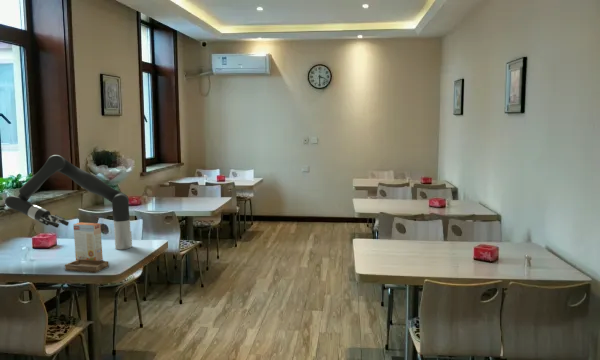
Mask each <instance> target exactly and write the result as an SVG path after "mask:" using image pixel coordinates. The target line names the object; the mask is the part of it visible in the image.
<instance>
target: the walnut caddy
mask: <svg viewBox="0 0 600 360" xmlns="http://www.w3.org/2000/svg"><path fill="white" fill-rule="evenodd" d="M64 268H65V269H64V270H65V271H70V272H81V273H82V272H83V273H92V274H93V273H95V274H96V273H98V272H100V271H103V270H105V269H107V268H109V261H107V260H100V261H96V260H83V259H78V260H76V259H75V260H73V261H71V262H68V263H66V264H64Z"/></svg>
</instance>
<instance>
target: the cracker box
mask: <svg viewBox="0 0 600 360" xmlns="http://www.w3.org/2000/svg"><path fill="white" fill-rule="evenodd" d="M72 226H73V238H74V239H73V240H74V253H75V261H76V260H78V259H83V260H96V261H104V260H103V259H104V258H103V242H102V229H101V226H102V225H101V223H96V222H76V223H73V225H72Z"/></svg>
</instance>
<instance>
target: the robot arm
mask: <svg viewBox="0 0 600 360" xmlns="http://www.w3.org/2000/svg"><path fill="white" fill-rule="evenodd" d="M57 172H58V173H61V174H63V175H65V176H67V177H68V178H69V179H71V181H73V182H74V183H75V184H76V185H78V186H79V187H81V188H82V189H84V190H86V191H87V192H89V193H92V194H94V195H96V196H97V195H98V196H99V197H102V198H105V199H106V200H107V201H109V202H110V203H111V207H112V209H111V210H112V218H113V228H114V229H113V231H114V245H115V246H114V248H115V249H116V250H128V249H131V248H132V247H133V241H132V240H133V237H132V235H133V234H132V231H131V219H130V217H131V216H130V207H129V205H130V204H129V203H130V197H128V196H127V194H126V193H123V192H121V191H118V190H117V189H115V188H113V187H111V186H109V185H108V184H106V183H105V182H104V181H103V180H101V179H99V178H98V177H97V176H95V175H93V174H91V173H90V172H88V171H85V170H84V169H82V168H79V167H77V166H75V165H74V164H72V163H71V162H70V161H68V159H66V158H65V157H63V156H61V155H59V154H53V155H50V156H49V157H48V159H47V160H46V162H45V163H44V164H43V166H42V167H40V169H39V170H38V171H37V172H36V173H35V174H34V175H32V177H31V178H30V179H28V180H27V181H26V182H25V183H24V184H23V185H22V186H20V188H19V190H18V192H19V195H18V196H17V195H8V196H7V197H6V198H5V200H4V203H5V205H6V206H7V208H10V209H13V210H15V211H17V212H19V213H21V214H24V215H25V216H28V217H29V218H31V219H33V220H35V221H37V222H39V223H41V224H43V225H45V226H51V227H55V228H57V229H58V228H59V227H60V224H62V225H64V226H67V227H68V226H69V221H67V220H65V219H66V218H64V217H62V216H60V215H58V214H55V215H54V214H51V211H50V210H47V209H45V208H43V207H41V206H39V205H36V204H33V203H31V202H29V200H30V198H31V197H32V196H33V195H34V194H35V192H37V191H38V190H39V189H40V188H41V186H43V184H44V183H45V182H46V181H47V180H48V179H49V178H50V177H51V176H52V175H54V174H55V173H57Z"/></svg>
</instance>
